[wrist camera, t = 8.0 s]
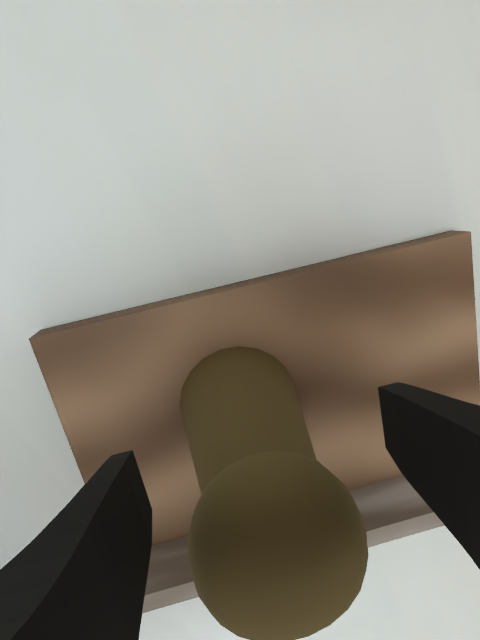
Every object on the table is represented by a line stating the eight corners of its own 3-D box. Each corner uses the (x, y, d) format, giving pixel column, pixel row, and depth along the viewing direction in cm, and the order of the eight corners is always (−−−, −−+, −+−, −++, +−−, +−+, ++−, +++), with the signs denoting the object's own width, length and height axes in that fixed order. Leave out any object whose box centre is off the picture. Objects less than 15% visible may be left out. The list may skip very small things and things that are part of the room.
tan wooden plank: (467, 456, 25) (525, 506, 21) (124, 553, 24) (110, 627, 20) (451, 230, 21) (518, 234, 17) (40, 330, 20) (-1, 361, 16)
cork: (162, 369, 20) (132, 546, 9) (277, 330, 20) (377, 457, 9) (202, 469, 21) (216, 714, 11) (308, 430, 22) (423, 635, 11)
